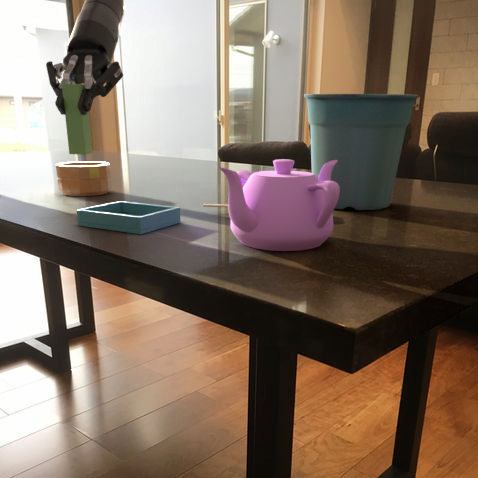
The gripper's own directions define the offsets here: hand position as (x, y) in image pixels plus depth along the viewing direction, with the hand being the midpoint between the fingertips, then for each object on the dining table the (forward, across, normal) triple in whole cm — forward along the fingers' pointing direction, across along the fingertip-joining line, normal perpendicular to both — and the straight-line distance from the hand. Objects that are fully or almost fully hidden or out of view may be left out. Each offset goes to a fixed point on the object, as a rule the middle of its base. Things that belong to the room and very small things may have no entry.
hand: (71, 110), depth 86 cm
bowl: (+8, 0, +11) cm, 14 cm away
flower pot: (+11, +47, +8) cm, 49 cm away
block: (+3, 0, +6) cm, 7 cm away
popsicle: (+18, +32, +1) cm, 37 cm away
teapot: (+30, +38, -11) cm, 50 cm away
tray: (+26, +18, -7) cm, 32 cm away
